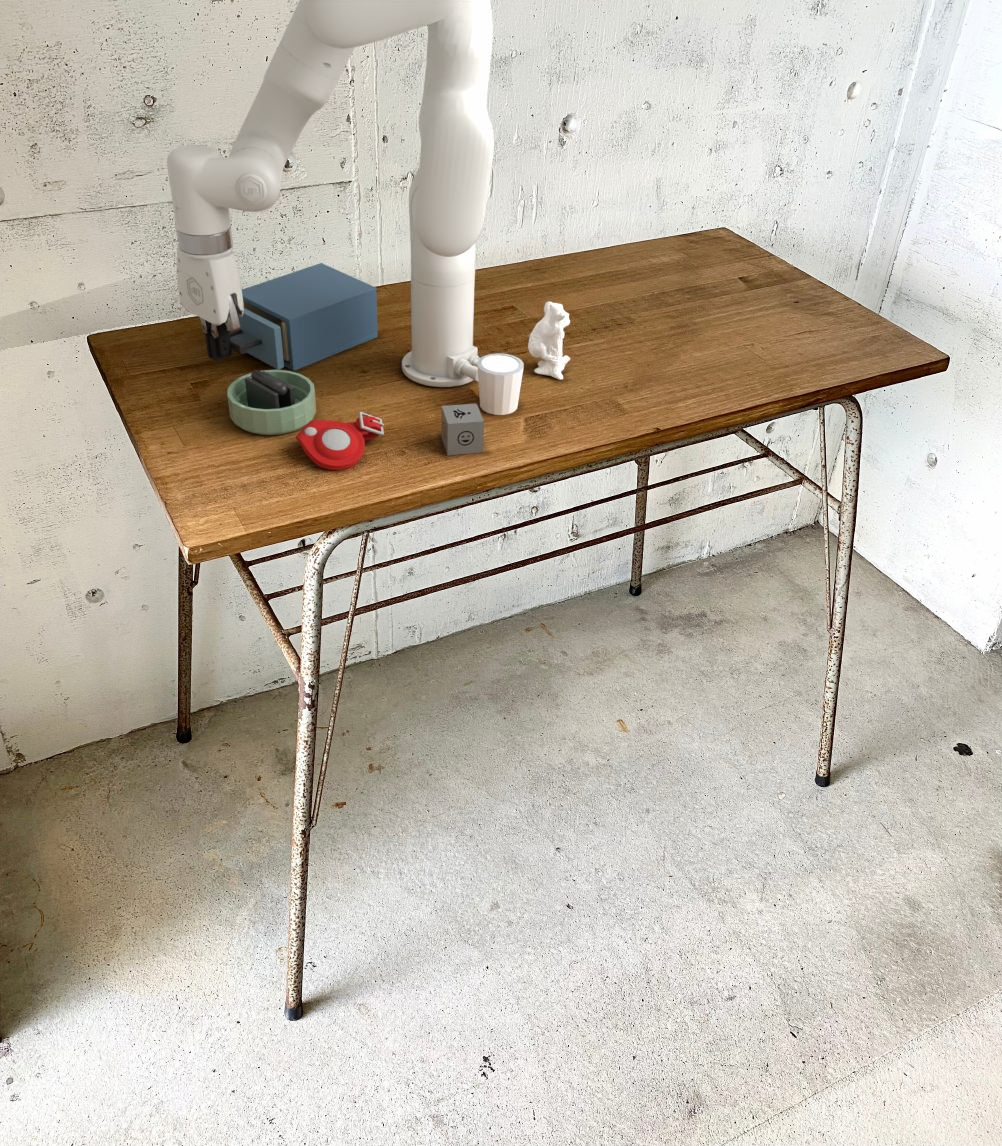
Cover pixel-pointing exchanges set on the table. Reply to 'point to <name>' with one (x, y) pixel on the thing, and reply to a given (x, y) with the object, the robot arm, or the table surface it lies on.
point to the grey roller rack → (268, 391)
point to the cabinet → (318, 311)
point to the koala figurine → (550, 341)
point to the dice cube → (462, 429)
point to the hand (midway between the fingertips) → (220, 356)
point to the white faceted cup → (499, 383)
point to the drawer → (261, 337)
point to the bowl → (273, 418)
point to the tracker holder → (338, 440)
